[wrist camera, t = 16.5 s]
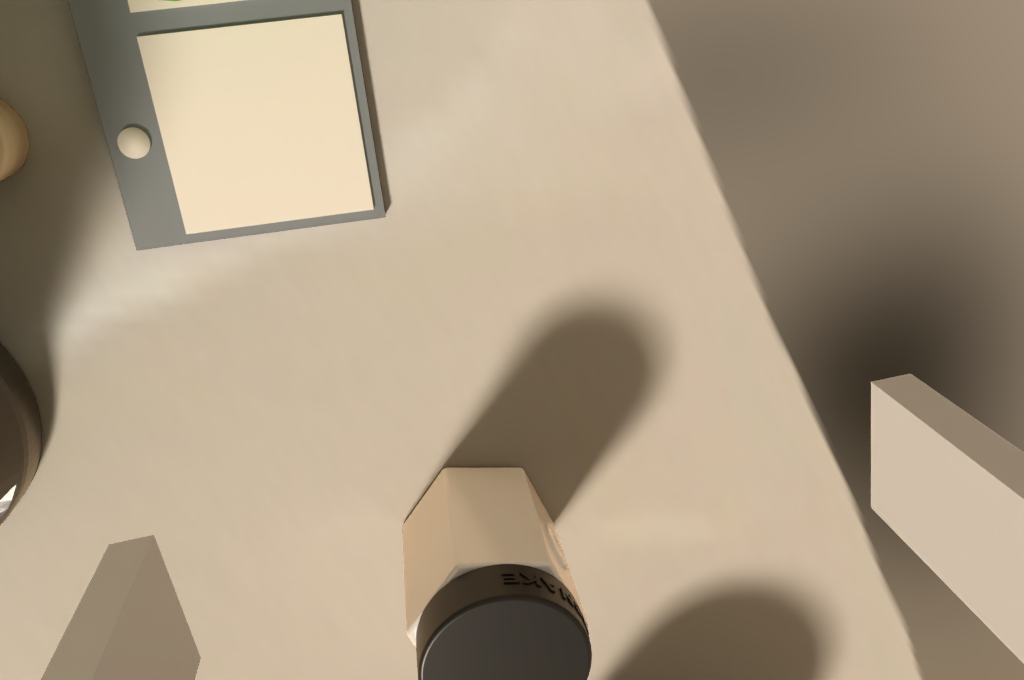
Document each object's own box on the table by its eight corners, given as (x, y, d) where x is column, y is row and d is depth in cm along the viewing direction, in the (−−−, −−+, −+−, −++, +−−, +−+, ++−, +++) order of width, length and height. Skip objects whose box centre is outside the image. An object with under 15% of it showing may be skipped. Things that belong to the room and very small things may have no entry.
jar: (571, 548, 52) (624, 695, 41) (451, 607, 52) (471, 769, 41) (508, 434, 49) (546, 560, 38) (380, 497, 49) (380, 641, 38)
